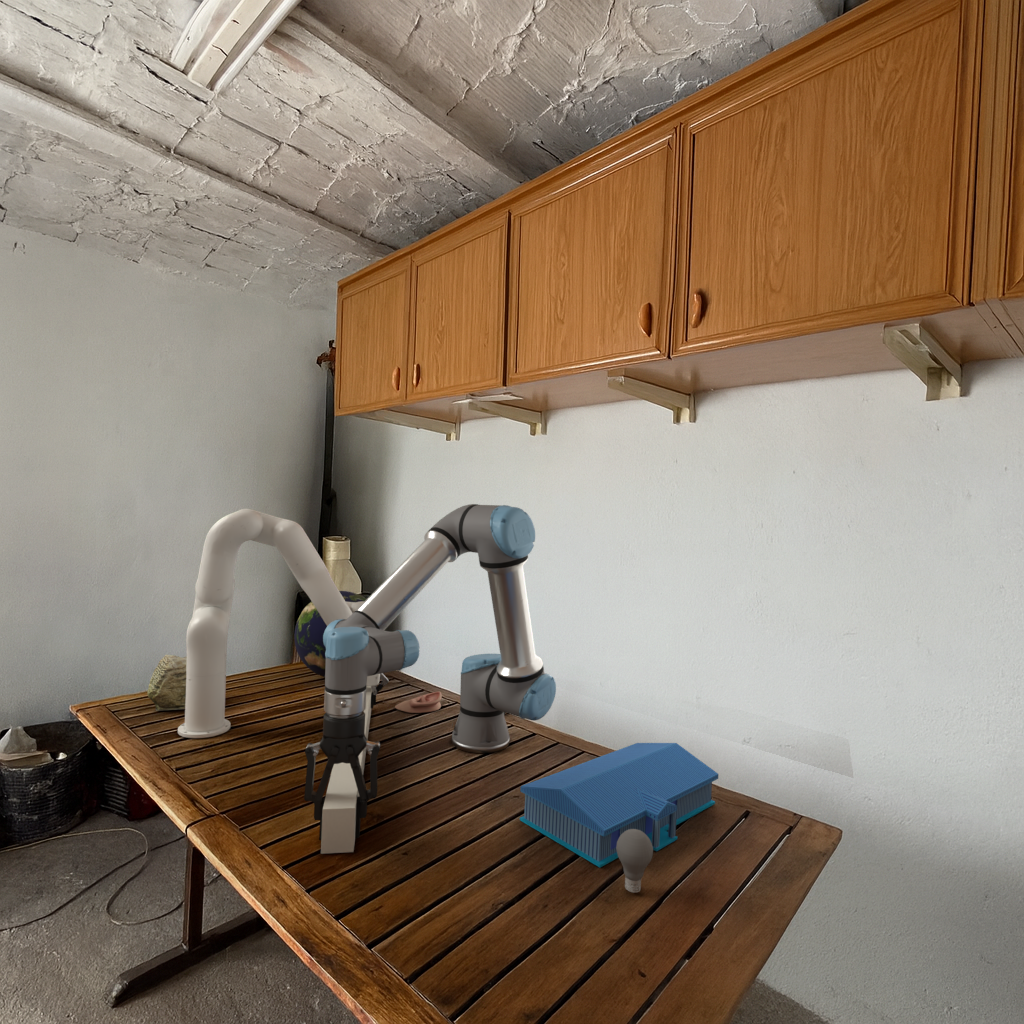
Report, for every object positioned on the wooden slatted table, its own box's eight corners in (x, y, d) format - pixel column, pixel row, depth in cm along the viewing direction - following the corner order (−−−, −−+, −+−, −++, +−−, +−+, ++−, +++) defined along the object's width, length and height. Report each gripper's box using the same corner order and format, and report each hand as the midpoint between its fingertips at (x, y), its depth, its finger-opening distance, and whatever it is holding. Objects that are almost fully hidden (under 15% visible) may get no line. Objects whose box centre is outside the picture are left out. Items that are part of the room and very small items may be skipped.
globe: (273, 681, 212) (276, 592, 212) (330, 661, 240) (333, 582, 239) (347, 695, 201) (350, 601, 200) (398, 673, 229) (401, 590, 228)
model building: (614, 876, 110) (616, 818, 109) (518, 819, 128) (520, 770, 127) (729, 809, 136) (731, 762, 136) (635, 769, 154) (637, 729, 154)
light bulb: (610, 879, 108) (613, 822, 108) (644, 879, 109) (647, 822, 109) (619, 902, 102) (622, 840, 102) (655, 901, 103) (658, 840, 103)
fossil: (144, 707, 182) (145, 655, 182) (212, 696, 194) (213, 647, 194) (151, 716, 175) (153, 662, 175) (221, 703, 188) (223, 653, 188)
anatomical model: (391, 697, 188) (405, 686, 200) (390, 710, 188) (404, 699, 200) (433, 702, 186) (445, 691, 197) (433, 715, 186) (445, 703, 197)
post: (351, 711, 187) (352, 684, 187) (371, 710, 188) (372, 683, 188) (320, 853, 113) (322, 809, 113) (353, 852, 114) (355, 807, 114)
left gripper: (331, 648, 177) (328, 712, 177) (393, 648, 180) (390, 711, 181) (333, 642, 185) (331, 703, 185) (393, 642, 188) (391, 702, 188)
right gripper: (288, 719, 112) (283, 848, 113) (395, 718, 116) (390, 843, 116) (295, 706, 120) (290, 827, 120) (395, 704, 123) (391, 822, 124)
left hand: (360, 706), depth 183 cm, fingers closed on post, 5 cm apart
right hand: (339, 834), depth 118 cm, fingers closed on post, 6 cm apart
